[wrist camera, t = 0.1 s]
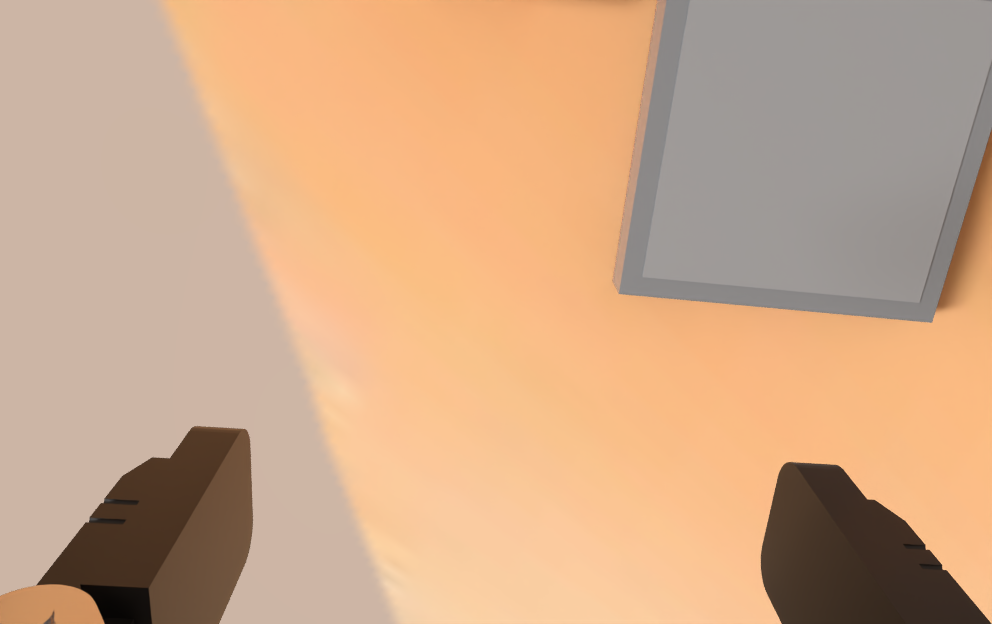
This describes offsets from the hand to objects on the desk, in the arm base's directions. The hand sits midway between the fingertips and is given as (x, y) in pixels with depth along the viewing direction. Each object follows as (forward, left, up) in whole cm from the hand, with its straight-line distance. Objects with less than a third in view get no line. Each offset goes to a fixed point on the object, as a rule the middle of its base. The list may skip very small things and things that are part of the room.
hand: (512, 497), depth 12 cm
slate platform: (-3, +15, -29) cm, 33 cm away
